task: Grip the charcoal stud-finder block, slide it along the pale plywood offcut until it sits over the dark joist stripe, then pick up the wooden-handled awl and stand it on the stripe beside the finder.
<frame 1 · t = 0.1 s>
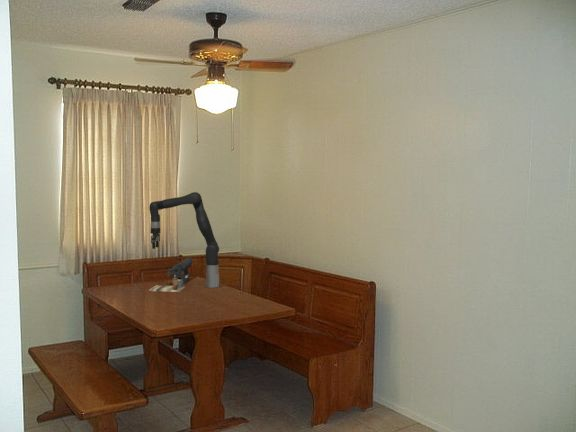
hand: (155, 248, 421), 29 cm above the table, tool pointing down, fingers open, 8 cm apart
gun: (180, 284, 427), on the table
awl: (174, 289, 402), point 1 cm above the table, touching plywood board
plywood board: (167, 289, 408), on the table
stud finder: (179, 287, 411), point 1 cm above the table, touching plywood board
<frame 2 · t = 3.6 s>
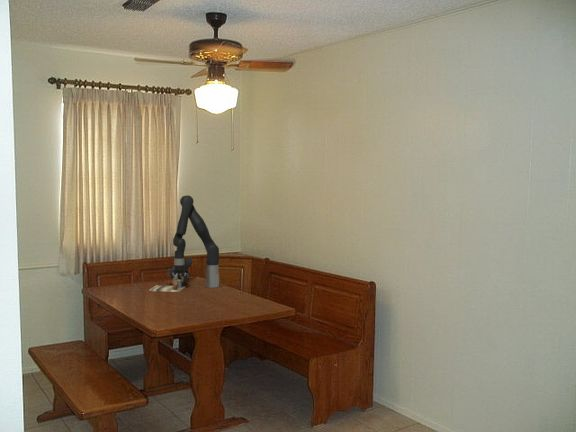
hand: (179, 286, 411), 2 cm above the table, tool pointing down, fingers closed on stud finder, 4 cm apart
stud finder: (179, 287, 411), point 1 cm above the table, touching gripper, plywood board
everything else where it was.
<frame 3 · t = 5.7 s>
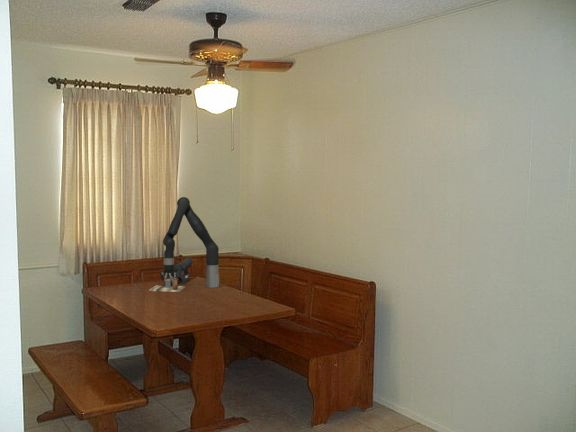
hand: (168, 286, 411), 2 cm above the table, tool pointing down, fingers closed on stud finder, 4 cm apart
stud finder: (168, 286, 411), point 1 cm above the table, touching gripper
everything else where it was.
when the fingers open (2 cm above the table, at t = 8.0 s): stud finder stays where it is, resting on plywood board.
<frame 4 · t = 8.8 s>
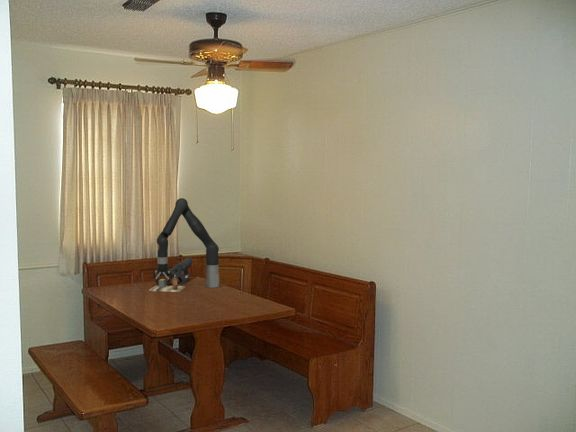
hand: (162, 283, 411), 3 cm above the table, tool pointing down, fingers open, 8 cm apart
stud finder: (162, 286, 412), point 1 cm above the table, touching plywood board
everything else where it was.
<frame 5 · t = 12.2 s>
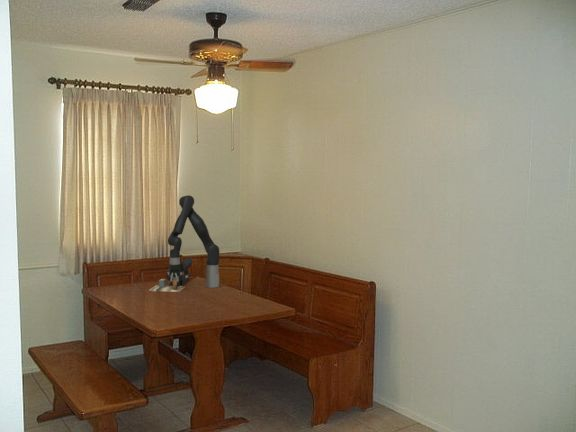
hand: (174, 286, 402), 4 cm above the table, tool pointing down, fingers closed on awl, 3 cm apart
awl: (174, 289, 402), point 1 cm above the table, touching gripper, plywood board
everything else where it was.
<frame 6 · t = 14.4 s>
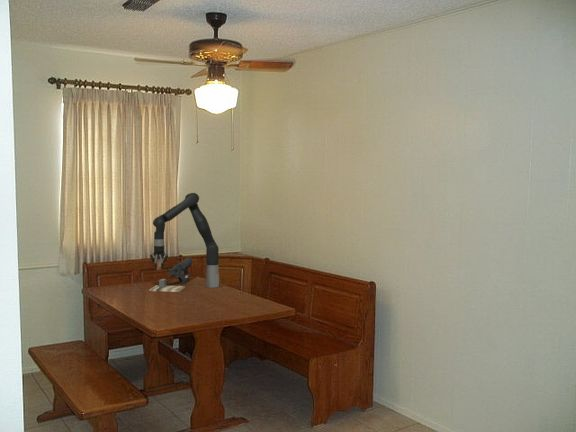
hand: (159, 267, 403), 17 cm above the table, tool pointing down, fingers closed on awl, 3 cm apart
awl: (159, 271, 403), point 15 cm above the table, touching gripper
everything else where it was.
when the fingers open (5 cm above the table, at t = 16.9 s): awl stays where it is, resting on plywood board.
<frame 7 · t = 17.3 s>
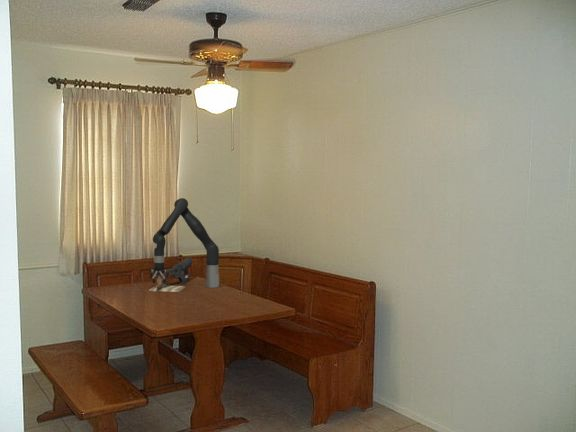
hand: (159, 283, 403), 5 cm above the table, tool pointing down, fingers open, 7 cm apart
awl: (159, 288, 404), point 1 cm above the table, touching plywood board
everything else where it was.
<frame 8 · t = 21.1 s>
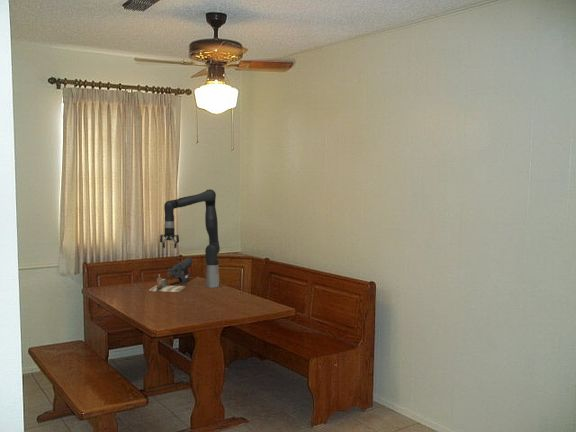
hand: (169, 248, 414), 30 cm above the table, tool pointing down, fingers open, 8 cm apart
nothing on the table moved.
at the end: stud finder 0.1 cm from the target spot on the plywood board, point 1.2 cm above the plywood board's base; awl 0.2 cm from the target spot on the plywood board, point 1.2 cm above the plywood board's base; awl tilted 0° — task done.
